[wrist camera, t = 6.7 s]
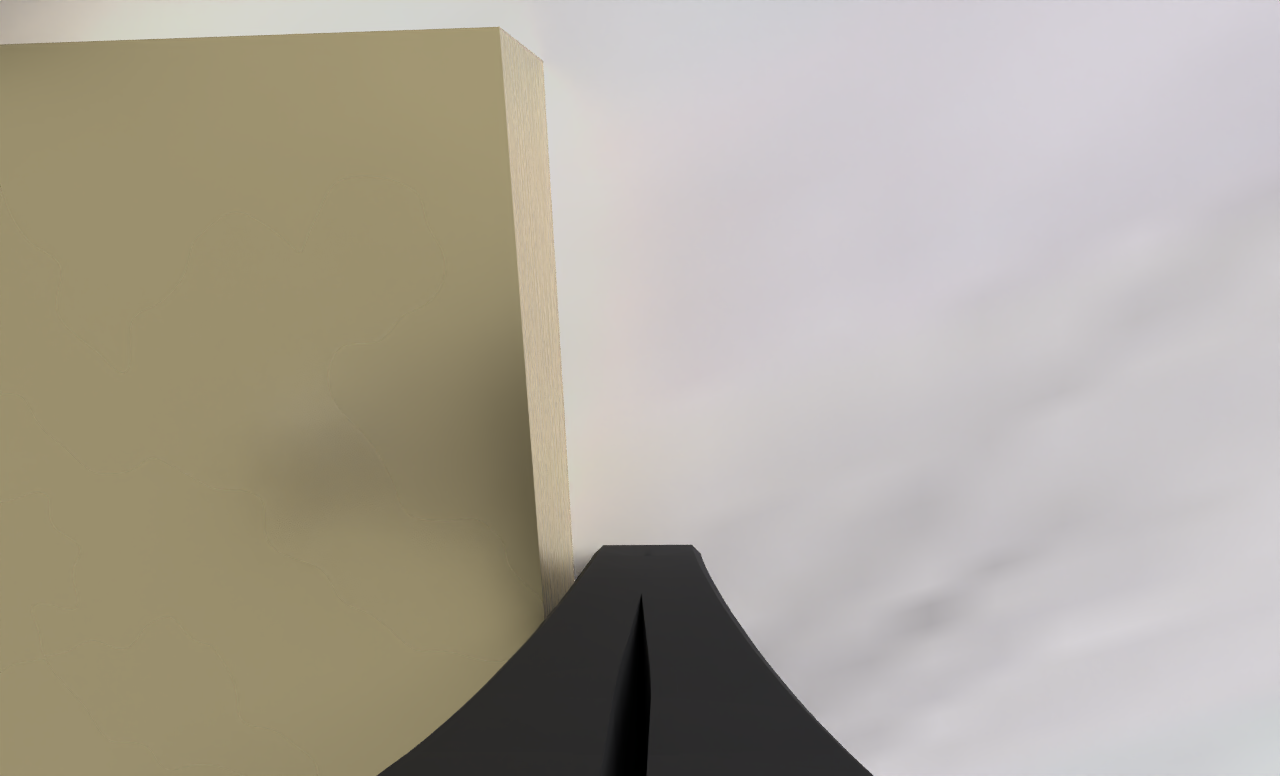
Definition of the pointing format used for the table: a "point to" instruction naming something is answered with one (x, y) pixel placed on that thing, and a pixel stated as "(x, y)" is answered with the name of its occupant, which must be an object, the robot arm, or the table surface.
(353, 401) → the loose hinge leaf
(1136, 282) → the table surface
